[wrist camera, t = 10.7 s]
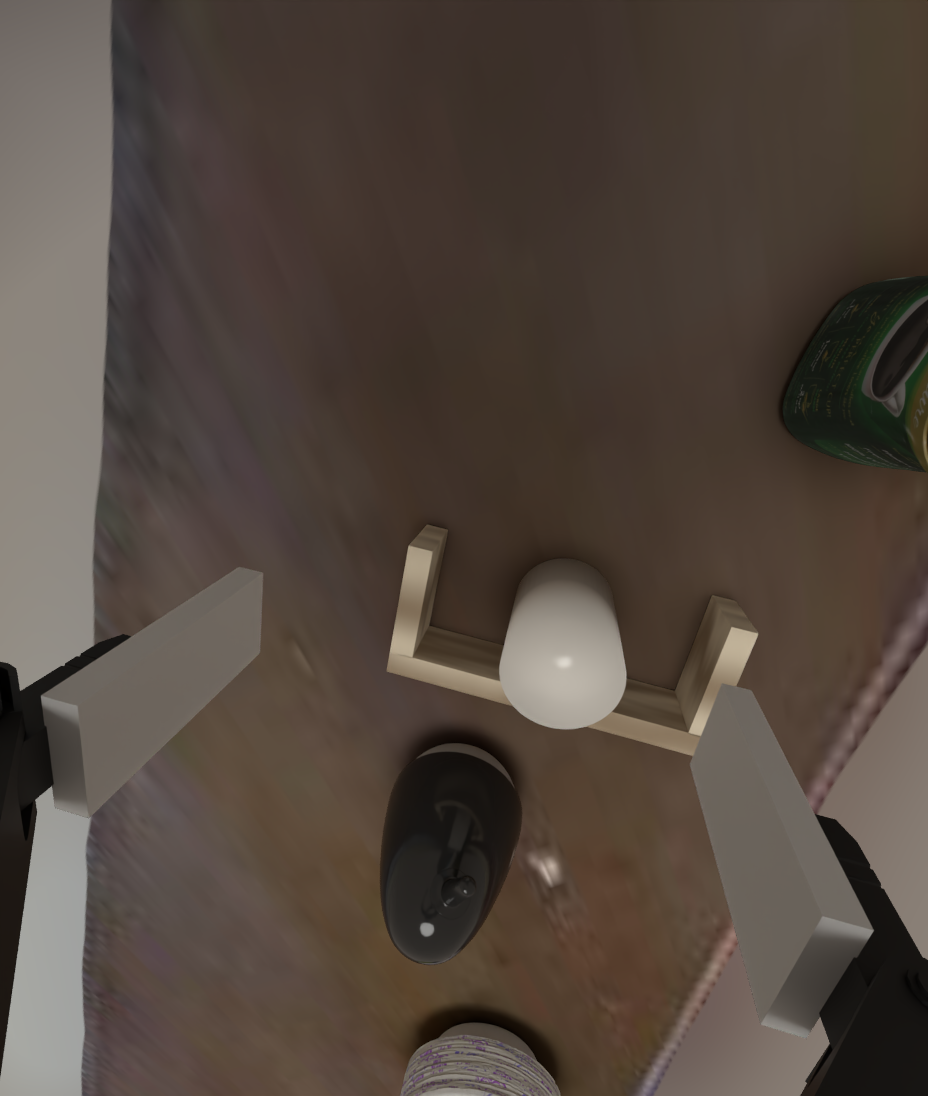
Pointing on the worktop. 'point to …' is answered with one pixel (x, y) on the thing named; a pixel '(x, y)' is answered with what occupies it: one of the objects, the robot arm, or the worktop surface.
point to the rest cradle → (642, 705)
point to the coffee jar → (867, 379)
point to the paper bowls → (476, 1065)
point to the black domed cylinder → (446, 849)
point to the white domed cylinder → (563, 647)
